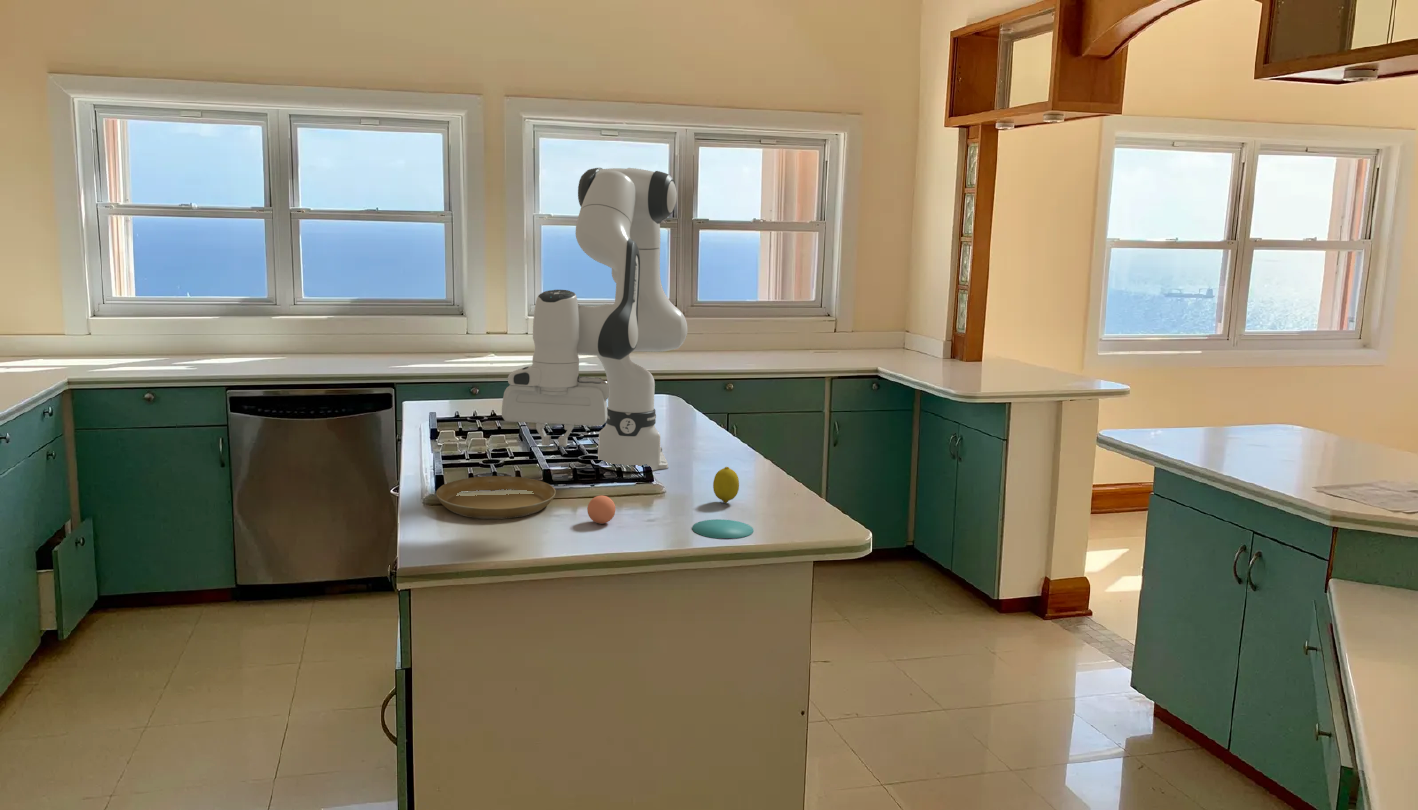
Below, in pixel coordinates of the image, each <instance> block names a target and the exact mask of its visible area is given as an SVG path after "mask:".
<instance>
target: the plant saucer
mask: <svg viewBox="0 0 1418 810" xmlns="http://www.w3.org/2000/svg"><path fill="white" fill-rule="evenodd" d="M499 489H500V490H501V489H504V490H506V489H507V490H508V489H512V490H513V489H514V490H515V489H516V490H527V491H533V492H532V493H534V494H520V493H519V494H509V495H508V494H506V495H477V496H476V495H475V496H460V495H459V496H456V495H457V493H459V492H461V491H476V490H478V491H479V490H491V491H492V490H499ZM556 491H557V490H556V488H554V486H553V485H552V484H550V483H547V482H545V481H542V480H540V479H539V480H538V479H533V478H528V477H521V476H509V475H489V476H486V475H485V476H474V477H467V478H462V479H457V480H452V481H450V482H447V483H444V484H442V485H441V486H440V487H438V488H437V489H436V491H435V493H436V494H435V495H436V497H437V499H438V501H439V502H440V503H441V505H442V506H443V507H445V508H446V509H447V510H449V511H450V512H453V513H454V514H456V515H460V516H464V517H468V518H475V519H487V520H488V519H490V520H491V519H492V520H495V519H496V520H500V519H513V518H514V519H515V518H522V517H525V516H529V515H533V514H536V513H538V512H540V511H542V510H543V509H545V508H546V507H547V506H549V504H550V503H552V501H553V500H554V498H555V496H556Z"/></svg>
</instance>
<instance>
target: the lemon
mask: <svg viewBox="0 0 1418 810" xmlns="http://www.w3.org/2000/svg"><path fill="white" fill-rule="evenodd" d="M739 480H740V479H739V476H738V474H737V473H736V471H735V470H733V469H732V468H730V467H729V466H725V467H723V468H722V469H719V470H718V471H717V472H716V473H715V476H714V478H713V483H712V488H713V492H714V495H715V496H716V498H718V499H719V500H720V501H722V502H723V503H724V504H727V503H728V502H729V501H732V500H733V499H735V498H736V496H737V495H738V493H739V490H740V481H739Z"/></svg>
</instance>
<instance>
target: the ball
mask: <svg viewBox="0 0 1418 810" xmlns="http://www.w3.org/2000/svg"><path fill="white" fill-rule="evenodd" d="M616 509H617V508H616V504H615V502H614V501H613V500H612V498H610V496H607V495H602V494H601V495H597V496H594V497H593V498H592V499H591V500H590V501H589V502H588V505H587V515H588V518H590V520H591V521H592V522H594V523H597V524H607V523H609V522H611V521H612V519H613V518H614V516H615V514H616Z"/></svg>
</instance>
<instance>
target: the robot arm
mask: <svg viewBox="0 0 1418 810" xmlns="http://www.w3.org/2000/svg"><path fill="white" fill-rule="evenodd" d="M676 185H677V184H676V182H675V180H674V178H673V177H672V175H671V174H668V173H666V172H663V171H660V170H655V171H652V170H649V169H642V168H637V167H635V168H634V167H632V168H631V167H627V168H613V167H612V168H603V167H595V168H589V169H587V170H586V171H585V172H584V173H583V174H582V175H581V176H580V179H579V181H578V187H577V197H578V198H577V199H578V203H579V206H580V210H579V214H578V216H577V221H576V225H575V239H576V241H577V244H578V246H579V247H580V248H581V251H583V252H584V253H585V254H586V256H587V257H588V256H589V258H591V260H593V261H595V262H597V263H600V264H602V265H604V266H607V267H609V268H610V269H611V277H612V279H613V281H614V283H615V296H614V297H615V298H614V302H613V304H611V303H609V304H607V303H606V304H599V305H593V306H588V305H586V306H585V305H582V304H581V305H580V304H579V301H578V297H577V295H576V293H575V292H574V291H571V290H569V289H568V290H567V289H553V290H546V291H543V292H541V293H539V294H538V295H537V297H536V300H535V304H534V312H533V323H532V340H533V343H534V351H533V354H532V363H531V364H532V365H530V366H529V365H528V366H524V367H522V368H518V369H516V370H513V371H511V372H510V373H509V374H508V375H507V383H508V384H509V386H507V387H506V389H504V392H503V397H502V404H501V417H502V419H503V420H504V421H505V422H510V423H511V422H513V423H514V422H515V423H532V424H533V423H534V424H535V429H536V431H537V433H538V434H539V436H540V437H541V446H542V447H543V446H545V447H550V446H551V444H552V443H551V442H552V441H551V439H552V436H551V435H547V433H546V431H545V429H544V428H545V427H546V424H552V425H553V424H555V425H564V426H563V427H564V430H565V431H566V432H565V434H564V435H560V436H559V437H558V440H557V441H558V443H557V444H558V447H561V448H562V447H563V448H564V447H565V448H566V447H567V446H568V438H569V436H570V434H571V432H572V431H573V430H574V426H590V427H591V426H592V427H593V426H595V427H596V426H597V427H602V426H603V425H605V426H604V427H603V428H602V429H601V430H599V432H598V433H599V434H598V444H597V445H598V447H597V456H598V460H603V461H605V462H607V463H611V464H624V465H638V466H642V465H644V464H647V465H648V466H650V467H651V468H652V469H653V470H652V471H657V470H663V469H668V468H669V463H668V460H667V459H666V457H665V454H664V452H663V448H662V446H661V433H660V432H659V431H658V430H657V428H656V426H655V424H656V421H657V420H656V418H657V413H656V409H655V388H656V387H655V386H656V383H655V379H654V376H653V374H652V373H651V372H650V371H649V370H647V369H646V368H644V367H643V366H641V365H639V364H636V363H635V362H633V361H632V360H631V358H630V354H631V353H634V352H643V353H644V352H649V353H650V352H651V353H652V352H654V353H655V352H656V353H660V352H668V351H672V350H678V349H680V347H682V345H684V343H685V341H686V338H687V335H688V332H689V331H688V322H687V319H686V317H685V315H684V313H683V312H682V311H681V310H680V309H679V308H677V307H676V306H675V305H674V304H673V303H672V302H671V301H670V298H669V297H668V296H667V294H666V293H665V291H664V288H663V285H662V281H661V266H660V265H661V263H660V262H661V225H660V224H661V223H662V222H663V220H666V219H668V218H669V217H670V216H671V215H672V214H673V212H674V209H675V206H676V203H677V197H678V193H677V187H676ZM579 355H583V356H585V355H586V356H596V357H597V358H598V359H599V362H600V363H601V364H602V366H603V369H604V372H605V376H606V380H607V381H606V380H604V379H603V378H602V377H590V376H589V377H588V376H579V374H580V373H579V372H580V371H579V370H580V369H579V367H580V358H579V357H580V356H579Z"/></svg>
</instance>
